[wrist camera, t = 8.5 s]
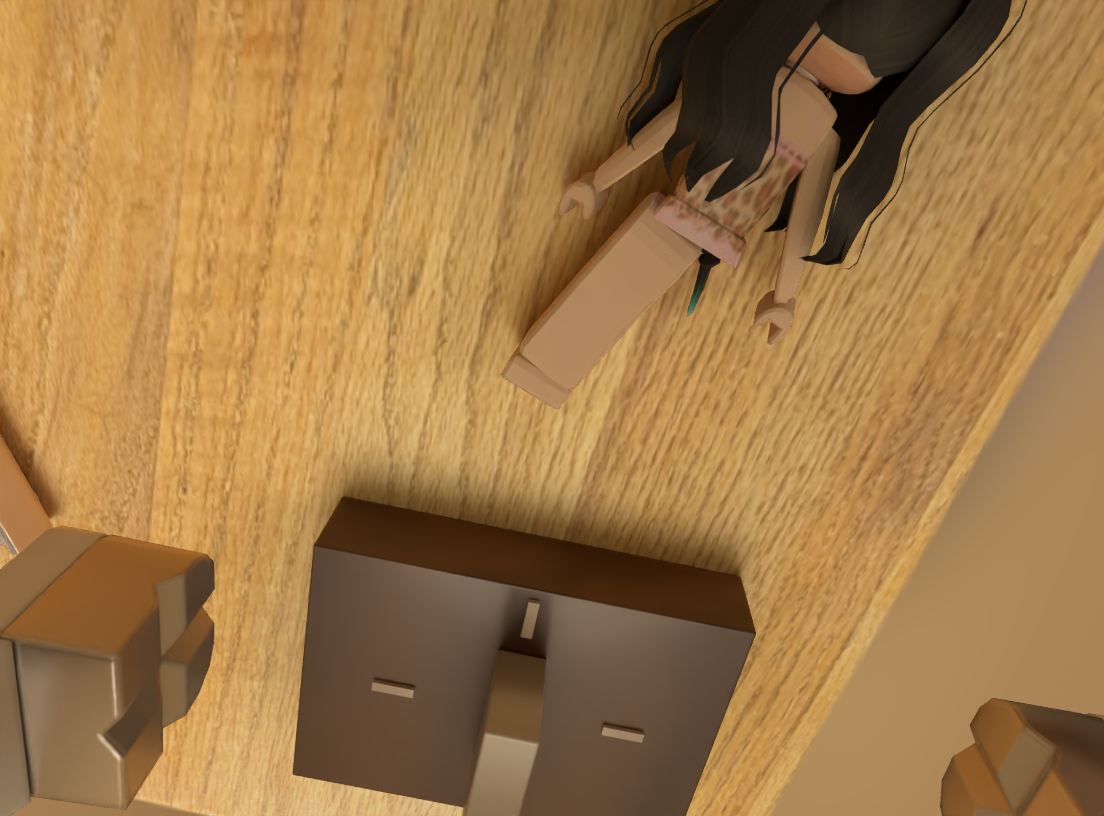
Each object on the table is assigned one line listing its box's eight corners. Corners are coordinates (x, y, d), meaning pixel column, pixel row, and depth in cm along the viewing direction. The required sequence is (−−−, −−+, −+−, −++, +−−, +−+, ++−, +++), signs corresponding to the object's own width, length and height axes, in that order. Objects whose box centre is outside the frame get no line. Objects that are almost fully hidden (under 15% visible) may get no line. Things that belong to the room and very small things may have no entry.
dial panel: (741, 576, 28) (758, 636, 25) (667, 779, 32) (674, 852, 29) (342, 495, 27) (311, 547, 24) (318, 712, 31) (290, 779, 28)
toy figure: (688, 436, 26) (1027, -24, 20) (681, 539, 20) (1157, -66, 14) (498, 321, 25) (781, -184, 19) (436, 392, 20) (810, -294, 14)
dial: (498, 648, 26) (483, 739, 22) (547, 658, 26) (539, 750, 22) (472, 759, 28) (454, 858, 24) (517, 768, 28) (505, 868, 24)
